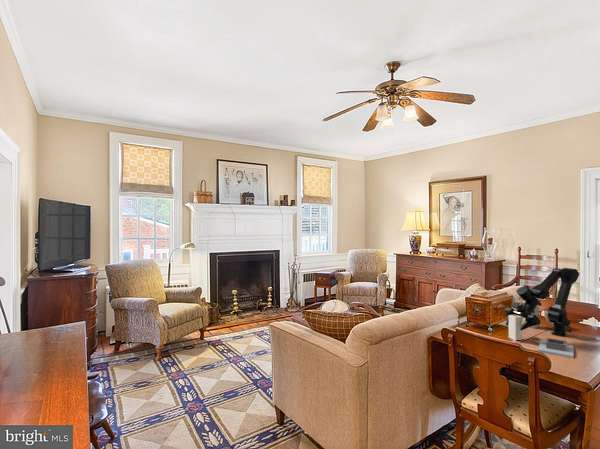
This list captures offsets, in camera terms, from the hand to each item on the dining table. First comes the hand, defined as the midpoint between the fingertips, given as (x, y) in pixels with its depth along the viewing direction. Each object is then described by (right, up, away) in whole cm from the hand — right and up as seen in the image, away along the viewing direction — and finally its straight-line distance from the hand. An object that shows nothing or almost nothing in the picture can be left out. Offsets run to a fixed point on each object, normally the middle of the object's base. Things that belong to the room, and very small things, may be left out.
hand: (513, 327), depth 192 cm
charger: (+1, -7, 0) cm, 7 cm away
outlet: (+12, -7, -15) cm, 21 cm away
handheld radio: (+44, -7, +25) cm, 51 cm away
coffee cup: (+26, -7, +24) cm, 36 cm away
